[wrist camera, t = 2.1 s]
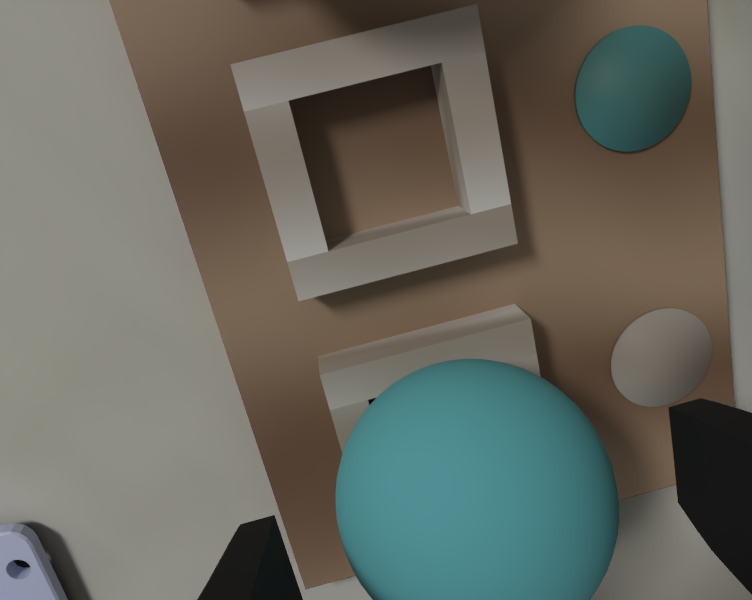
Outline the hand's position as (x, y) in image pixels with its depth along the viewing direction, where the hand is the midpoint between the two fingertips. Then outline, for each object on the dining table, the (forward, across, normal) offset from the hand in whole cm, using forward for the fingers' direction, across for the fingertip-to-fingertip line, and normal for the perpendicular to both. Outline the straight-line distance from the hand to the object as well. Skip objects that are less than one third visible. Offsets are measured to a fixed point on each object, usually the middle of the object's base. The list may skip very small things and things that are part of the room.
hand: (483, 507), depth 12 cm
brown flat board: (+4, -1, -6) cm, 8 cm away
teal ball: (0, 0, 0) cm, 0 cm away
